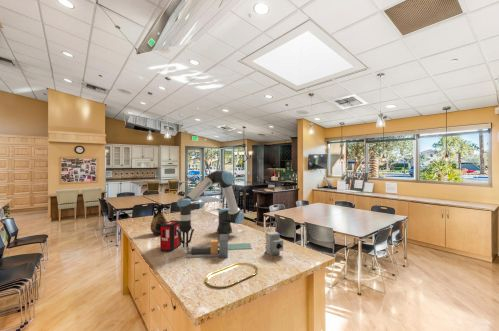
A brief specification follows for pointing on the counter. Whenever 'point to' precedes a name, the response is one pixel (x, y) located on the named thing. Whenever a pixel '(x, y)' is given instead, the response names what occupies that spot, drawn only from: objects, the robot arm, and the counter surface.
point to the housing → (222, 250)
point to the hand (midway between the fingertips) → (185, 251)
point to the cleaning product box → (169, 236)
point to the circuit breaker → (273, 243)
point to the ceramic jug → (157, 219)
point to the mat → (239, 246)
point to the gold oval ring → (230, 268)
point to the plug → (206, 249)
